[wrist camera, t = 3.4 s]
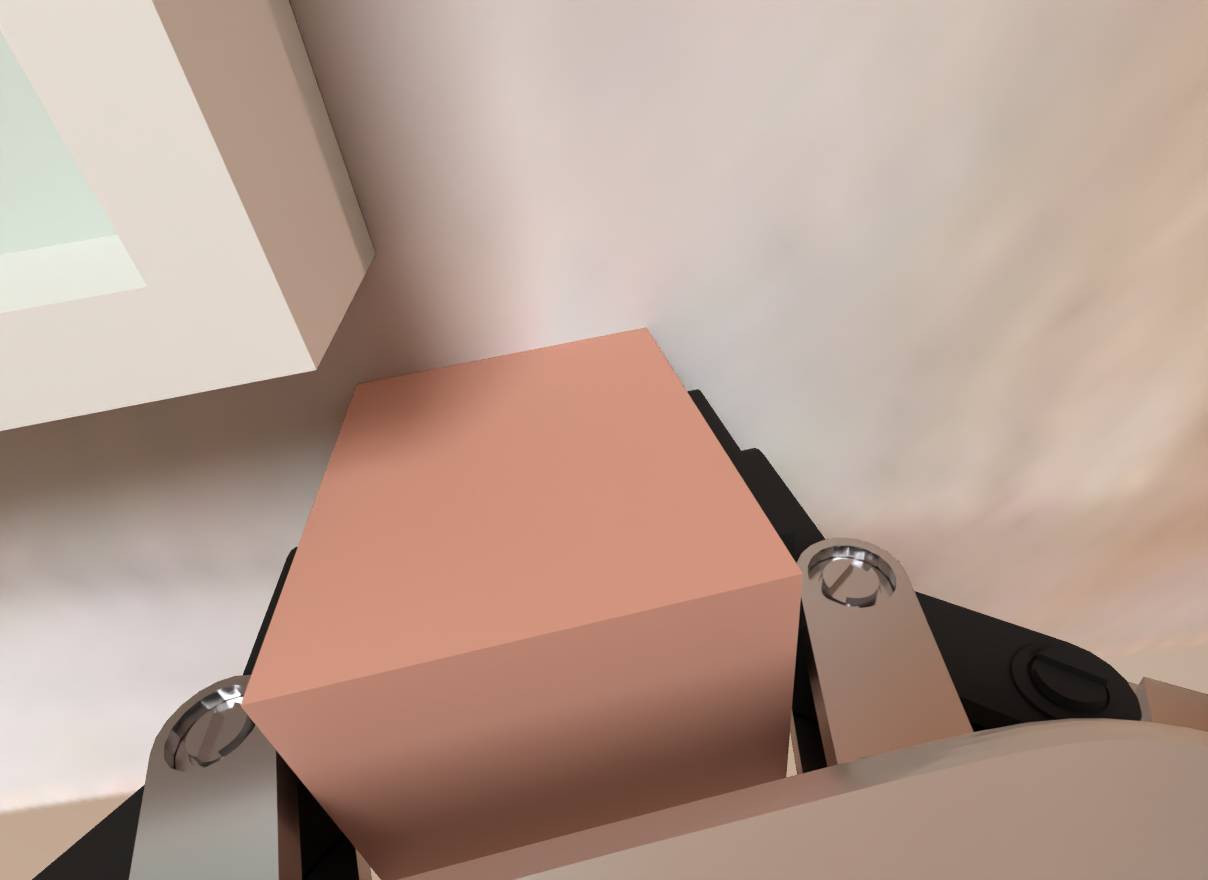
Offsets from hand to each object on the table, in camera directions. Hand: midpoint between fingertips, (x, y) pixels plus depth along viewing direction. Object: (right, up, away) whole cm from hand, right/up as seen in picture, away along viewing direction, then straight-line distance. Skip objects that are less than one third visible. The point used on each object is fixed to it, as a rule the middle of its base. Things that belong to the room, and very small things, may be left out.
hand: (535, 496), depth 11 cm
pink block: (0, 0, +1) cm, 1 cm away
